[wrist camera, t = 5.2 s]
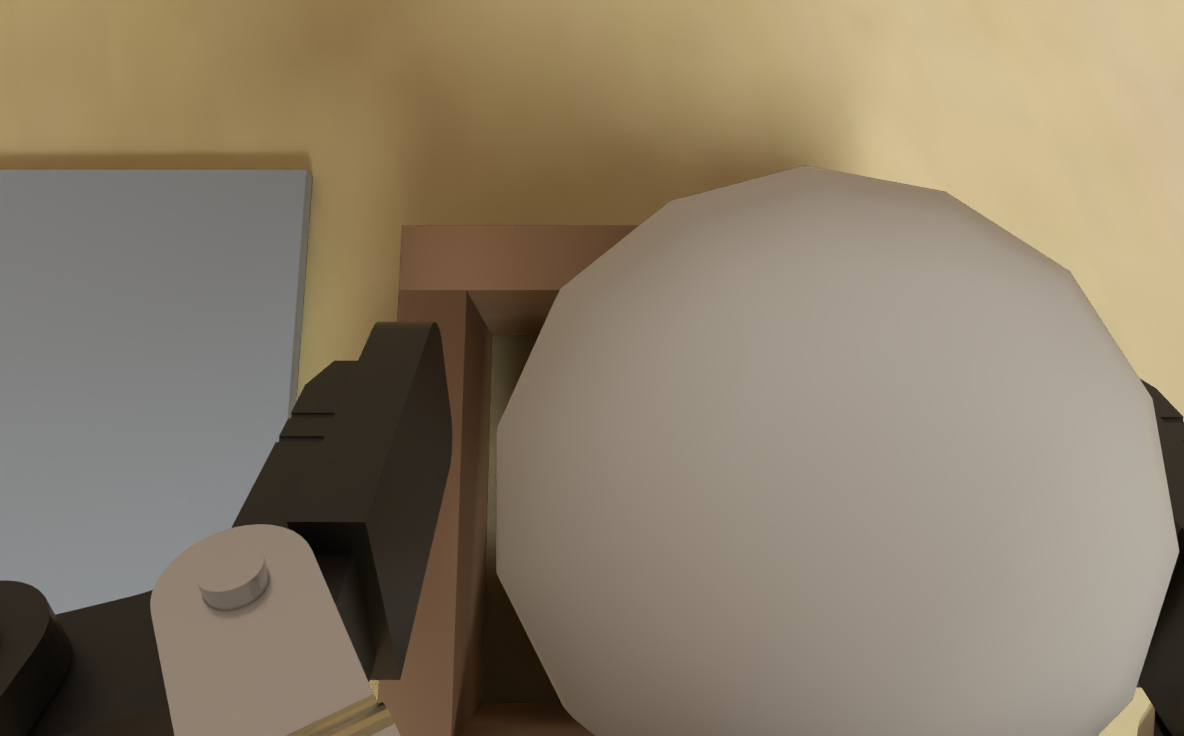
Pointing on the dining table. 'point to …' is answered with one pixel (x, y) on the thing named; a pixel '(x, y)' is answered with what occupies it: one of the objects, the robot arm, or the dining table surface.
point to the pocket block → (474, 456)
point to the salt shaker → (832, 477)
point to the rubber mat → (140, 364)
